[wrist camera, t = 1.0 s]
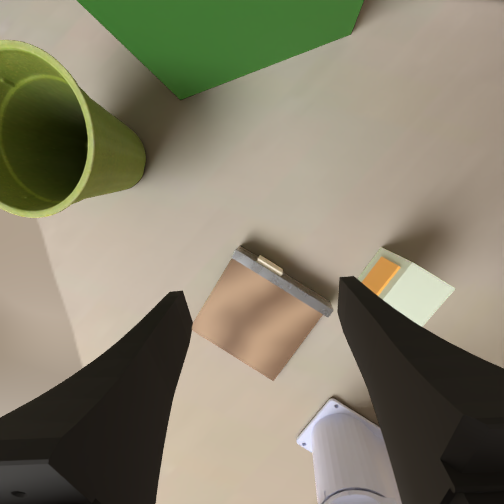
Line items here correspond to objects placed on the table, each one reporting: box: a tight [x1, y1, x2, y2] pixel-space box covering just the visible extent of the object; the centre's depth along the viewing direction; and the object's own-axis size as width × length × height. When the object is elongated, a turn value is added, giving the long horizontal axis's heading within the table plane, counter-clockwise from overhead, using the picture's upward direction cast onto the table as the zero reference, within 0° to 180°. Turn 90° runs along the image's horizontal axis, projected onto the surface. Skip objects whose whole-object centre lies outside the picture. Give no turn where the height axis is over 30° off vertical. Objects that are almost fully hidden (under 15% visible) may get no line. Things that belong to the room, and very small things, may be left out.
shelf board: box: [192, 246, 333, 381], centre depth 29 cm, size 12×12×2 cm
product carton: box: [358, 247, 455, 327], centre depth 25 cm, size 4×6×7 cm
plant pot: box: [0, 40, 146, 218], centre depth 24 cm, size 12×12×11 cm
